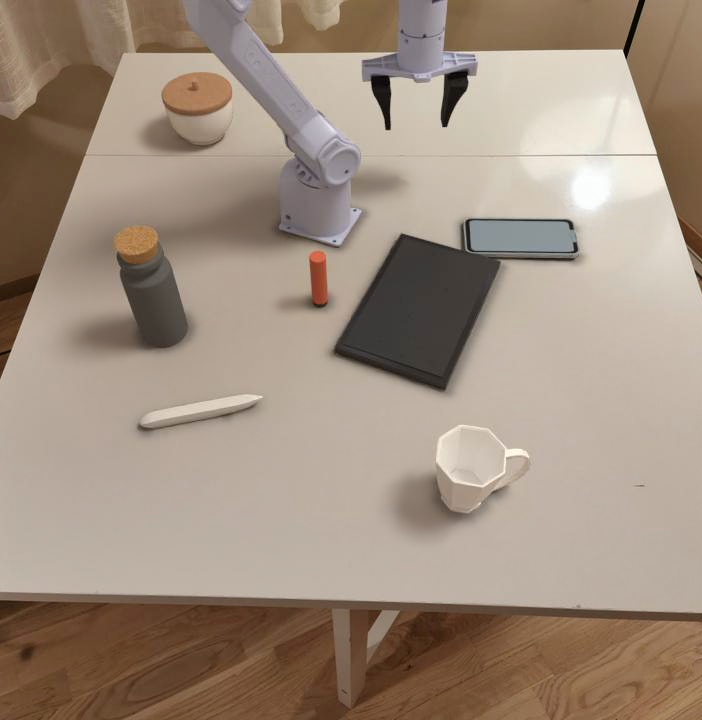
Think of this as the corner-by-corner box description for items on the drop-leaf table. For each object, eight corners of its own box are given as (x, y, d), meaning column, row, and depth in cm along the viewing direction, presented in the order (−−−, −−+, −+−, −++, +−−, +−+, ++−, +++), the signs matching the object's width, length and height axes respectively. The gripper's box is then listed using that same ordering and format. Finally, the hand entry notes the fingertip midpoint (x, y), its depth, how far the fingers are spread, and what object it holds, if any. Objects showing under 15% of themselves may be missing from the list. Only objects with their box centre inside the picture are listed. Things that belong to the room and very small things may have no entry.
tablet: (334, 353, 85) (334, 346, 84) (400, 239, 97) (401, 232, 96) (445, 391, 81) (446, 384, 80) (499, 267, 93) (501, 260, 92)
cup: (419, 470, 75) (425, 429, 68) (510, 454, 76) (524, 412, 69) (437, 531, 71) (445, 493, 64) (533, 513, 72) (550, 474, 65)
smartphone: (463, 217, 99) (573, 218, 97) (462, 222, 99) (571, 223, 98) (465, 253, 94) (580, 254, 93) (465, 258, 95) (579, 260, 94)
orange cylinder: (309, 305, 90) (306, 259, 84) (316, 294, 91) (313, 248, 85) (323, 309, 89) (321, 264, 83) (330, 299, 91) (328, 253, 84)
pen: (265, 408, 80) (264, 400, 79) (141, 432, 79) (137, 424, 77) (263, 397, 81) (261, 389, 80) (140, 420, 80) (137, 412, 78)
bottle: (196, 318, 89) (172, 227, 77) (175, 353, 86) (146, 263, 74) (155, 308, 90) (125, 217, 78) (132, 341, 87) (97, 251, 75)
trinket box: (209, 107, 118) (199, 54, 111) (251, 132, 114) (244, 78, 106) (158, 135, 114) (144, 81, 106) (200, 163, 109) (188, 108, 102)
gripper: (363, 46, 83) (364, 145, 94) (486, 40, 83) (473, 139, 94) (360, 17, 87) (361, 114, 98) (477, 10, 87) (465, 108, 98)
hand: (415, 124), depth 96 cm, fingers open, 7 cm apart
